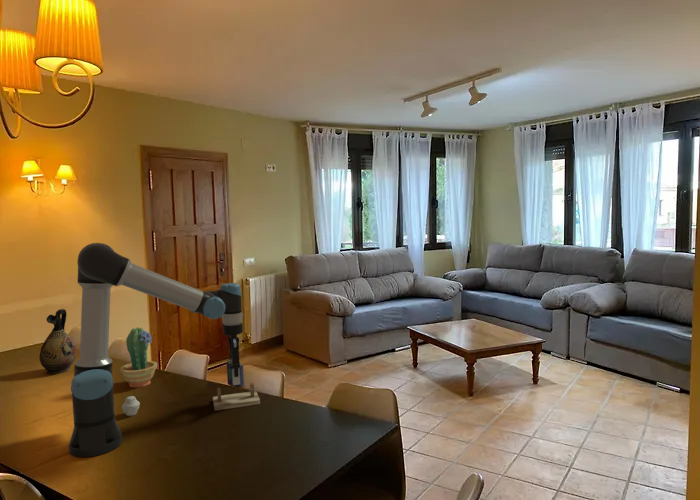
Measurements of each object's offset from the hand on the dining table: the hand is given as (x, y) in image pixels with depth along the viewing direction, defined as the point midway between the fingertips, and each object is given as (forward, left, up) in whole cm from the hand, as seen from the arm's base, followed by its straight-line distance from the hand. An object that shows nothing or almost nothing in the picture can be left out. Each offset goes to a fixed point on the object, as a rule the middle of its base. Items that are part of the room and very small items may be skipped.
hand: (235, 380), depth 192 cm
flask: (0, 0, -2) cm, 2 cm away
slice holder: (0, 0, -9) cm, 9 cm away
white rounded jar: (+3, +38, -9) cm, 39 cm away
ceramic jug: (+76, +77, -9) cm, 109 cm away
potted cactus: (+39, +38, -9) cm, 55 cm away
